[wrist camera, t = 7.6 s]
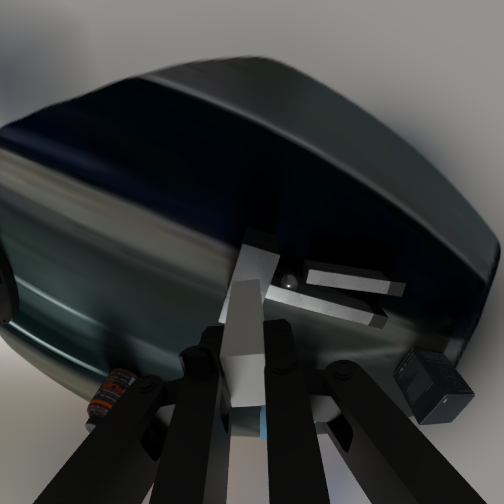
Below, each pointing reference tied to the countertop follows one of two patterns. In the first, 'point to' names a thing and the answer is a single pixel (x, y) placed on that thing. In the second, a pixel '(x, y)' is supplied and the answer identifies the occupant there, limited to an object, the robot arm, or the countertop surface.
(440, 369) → the box
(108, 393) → the supplement bottle
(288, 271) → the tongs fixed
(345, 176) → the countertop surface
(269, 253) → the collar
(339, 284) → the tongs jaw
